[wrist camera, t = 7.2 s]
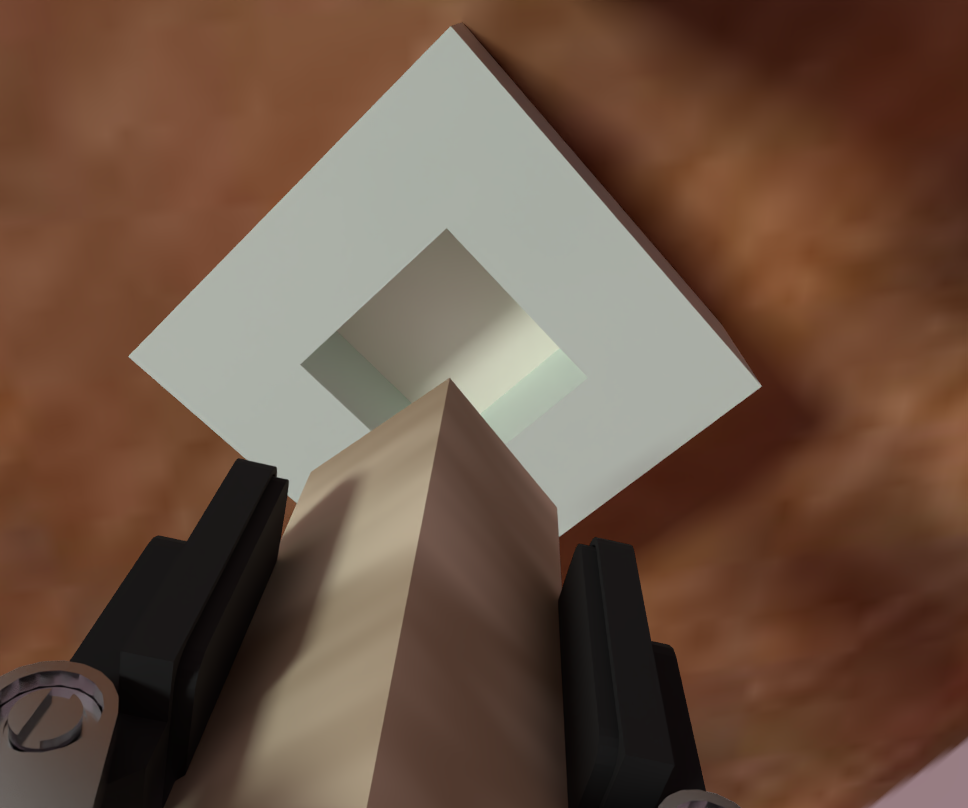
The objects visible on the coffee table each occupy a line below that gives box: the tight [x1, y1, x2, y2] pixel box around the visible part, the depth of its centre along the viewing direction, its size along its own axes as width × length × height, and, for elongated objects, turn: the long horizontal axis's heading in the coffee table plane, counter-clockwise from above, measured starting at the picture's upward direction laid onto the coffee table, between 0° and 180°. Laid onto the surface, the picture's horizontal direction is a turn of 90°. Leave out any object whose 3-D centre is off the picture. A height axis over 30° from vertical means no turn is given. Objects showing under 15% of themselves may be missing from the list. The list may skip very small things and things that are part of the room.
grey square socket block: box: [128, 22, 762, 537], centre depth 24 cm, size 11×11×4 cm
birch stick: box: [164, 378, 568, 808], centre depth 11 cm, size 3×3×9 cm
